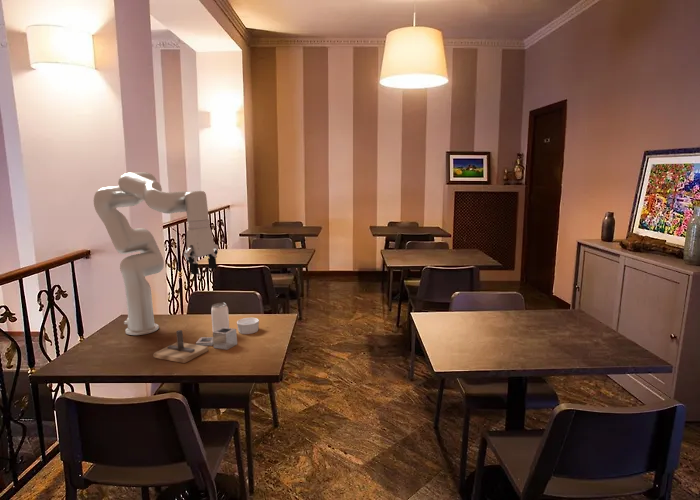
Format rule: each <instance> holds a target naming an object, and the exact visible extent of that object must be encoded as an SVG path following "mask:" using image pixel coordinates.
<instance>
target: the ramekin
mask: <svg viewBox="0 0 700 500" xmlns="http://www.w3.org/2000/svg"><path fill="white" fill-rule="evenodd" d="M259 323H260V320H259V319H258V318H257V317H244V318H239V319H238V320H236V324H237V331H238V333H239V334H242V335H251V334H254V333H255V334H256V333H257V332H258V331H259Z"/></svg>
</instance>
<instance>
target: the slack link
mask: <svg viewBox="0 0 700 500" xmlns="http://www.w3.org/2000/svg"><path fill="white" fill-rule="evenodd" d="M195 345H201V346H207V347H210V346H212V347H213V346H214V344H213V336H206V337H205V336H202V337H199V339H198V340H197V341H196V342H195Z"/></svg>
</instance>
